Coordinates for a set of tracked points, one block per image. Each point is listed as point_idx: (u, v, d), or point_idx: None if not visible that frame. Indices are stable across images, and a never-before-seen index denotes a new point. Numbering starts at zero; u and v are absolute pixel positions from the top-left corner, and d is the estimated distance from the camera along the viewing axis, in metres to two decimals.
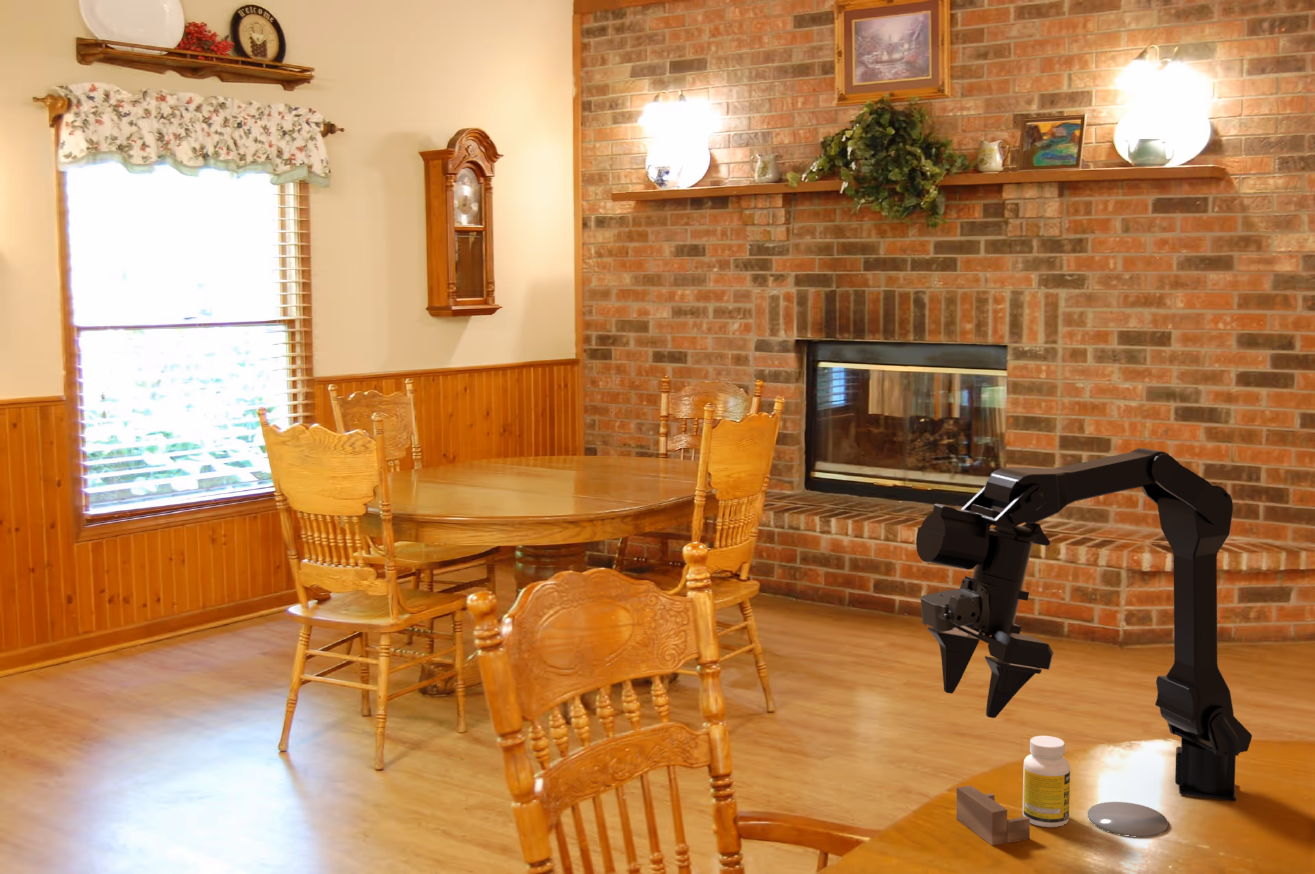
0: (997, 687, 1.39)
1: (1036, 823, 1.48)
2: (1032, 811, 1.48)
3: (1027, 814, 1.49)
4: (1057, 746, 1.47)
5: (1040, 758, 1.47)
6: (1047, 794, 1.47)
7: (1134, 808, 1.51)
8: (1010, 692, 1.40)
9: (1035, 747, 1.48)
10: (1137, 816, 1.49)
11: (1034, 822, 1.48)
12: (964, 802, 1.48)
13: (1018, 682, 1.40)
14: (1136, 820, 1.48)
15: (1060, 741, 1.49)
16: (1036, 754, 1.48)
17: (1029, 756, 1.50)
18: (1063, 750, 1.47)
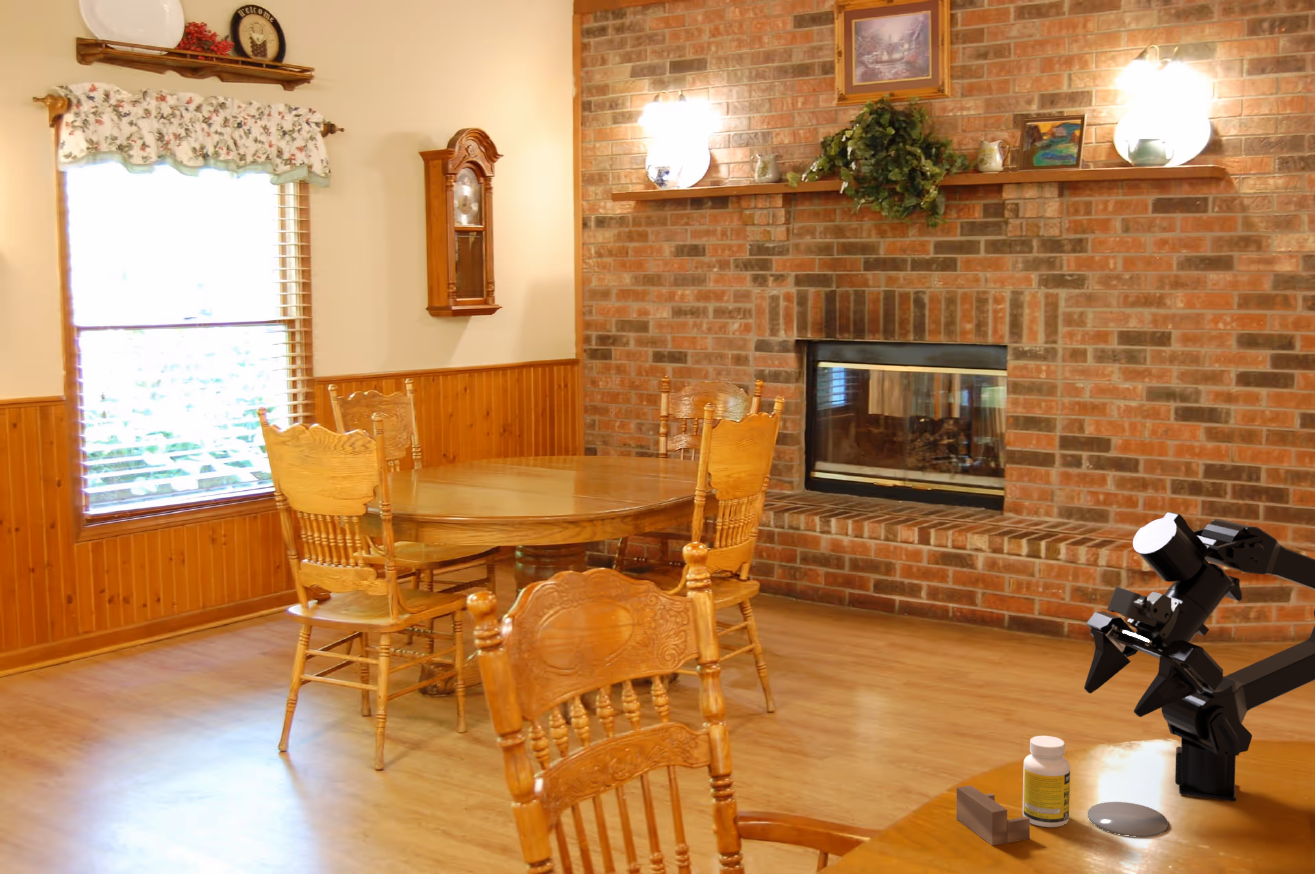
0: (1158, 688, 1.46)
1: (1036, 823, 1.48)
2: (1032, 811, 1.48)
3: (1027, 814, 1.49)
4: (1057, 745, 1.47)
5: (1040, 758, 1.47)
6: (1047, 794, 1.47)
7: (1134, 808, 1.51)
8: (1165, 700, 1.46)
9: (1035, 747, 1.48)
10: (1137, 816, 1.49)
11: (1034, 822, 1.48)
12: (964, 802, 1.48)
13: (1176, 694, 1.46)
14: (1136, 820, 1.48)
15: (1060, 741, 1.49)
16: (1036, 754, 1.48)
17: (1029, 756, 1.50)
18: (1063, 750, 1.47)
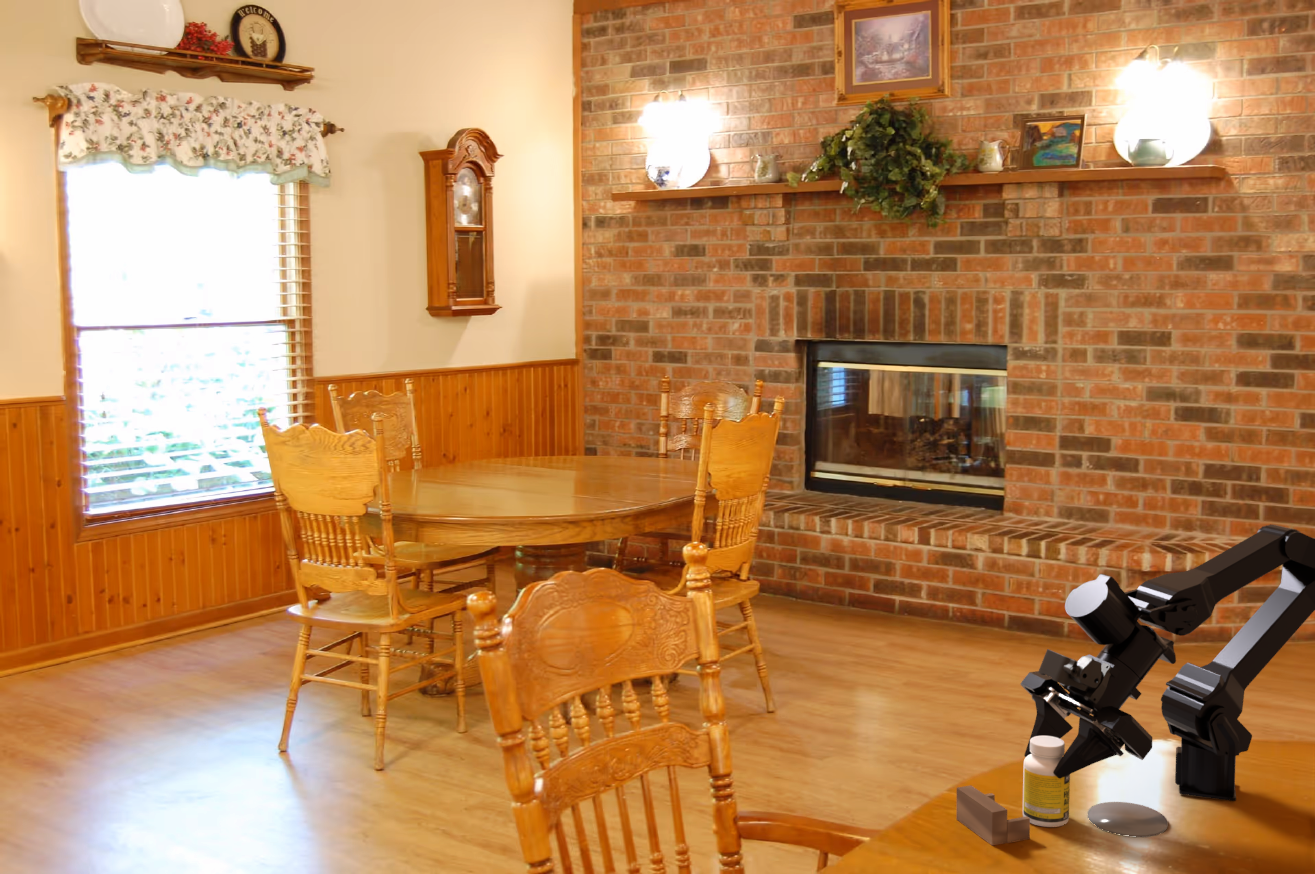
0: (1078, 750, 1.45)
1: (1036, 823, 1.48)
2: (1032, 811, 1.48)
3: (1027, 814, 1.49)
4: (1057, 745, 1.47)
5: (1040, 757, 1.47)
6: (1047, 794, 1.47)
7: (1134, 808, 1.51)
8: (1084, 761, 1.46)
9: (1035, 746, 1.48)
10: (1137, 816, 1.49)
11: (1034, 822, 1.48)
12: (964, 802, 1.48)
13: (1096, 756, 1.46)
14: (1136, 820, 1.48)
15: (1060, 741, 1.49)
16: (1036, 754, 1.48)
17: (1029, 756, 1.50)
18: (1063, 750, 1.47)
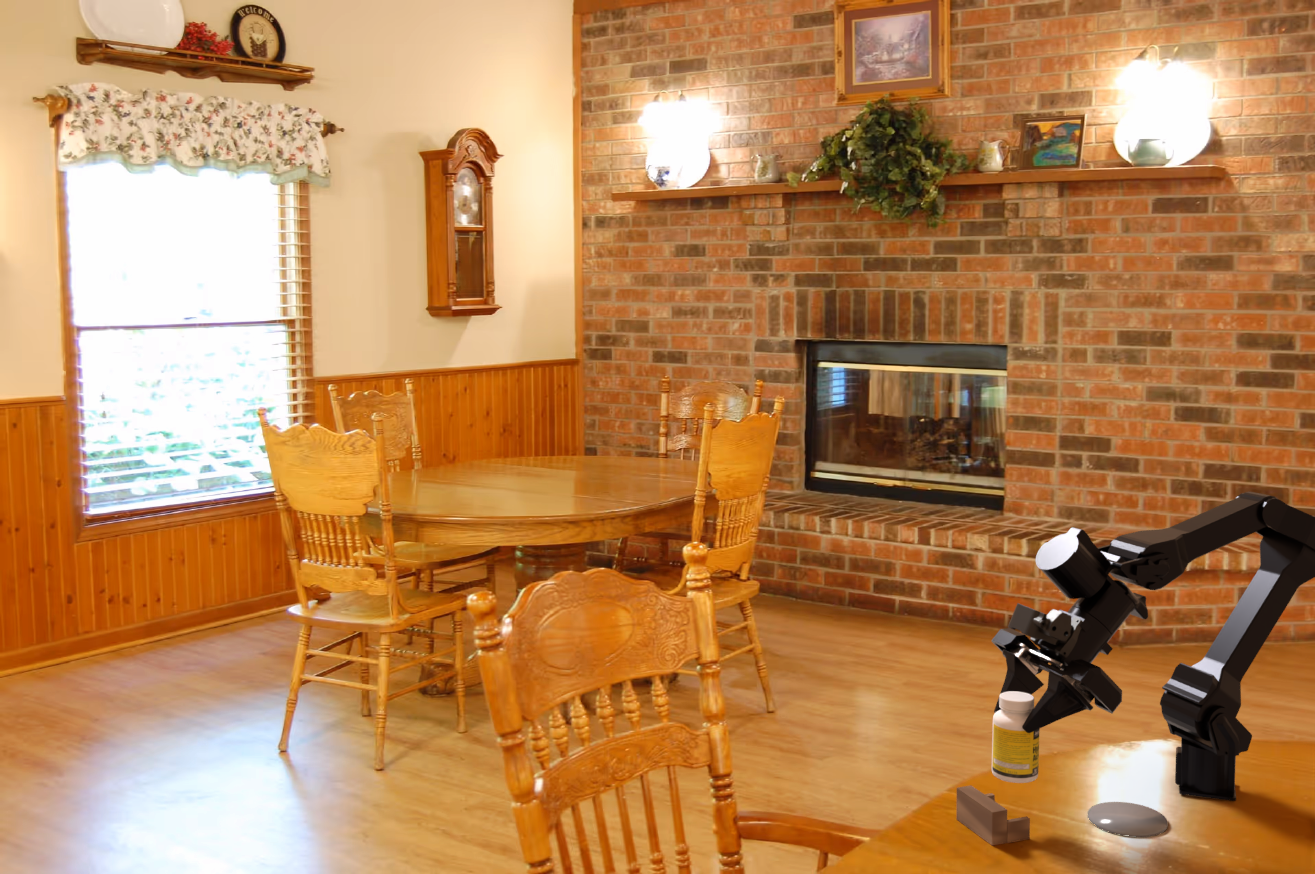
0: (1047, 704, 1.43)
1: (1005, 779, 1.46)
2: (1001, 766, 1.46)
3: (996, 770, 1.47)
4: (1026, 700, 1.45)
5: (1009, 712, 1.45)
6: (1015, 749, 1.45)
7: (1134, 808, 1.51)
8: (1054, 716, 1.44)
9: (1004, 701, 1.46)
10: (1137, 816, 1.49)
11: (1003, 777, 1.46)
12: (964, 802, 1.48)
13: (1065, 710, 1.44)
14: (1136, 820, 1.48)
15: (1030, 696, 1.46)
16: (1005, 709, 1.46)
17: (998, 711, 1.48)
18: (1032, 704, 1.45)
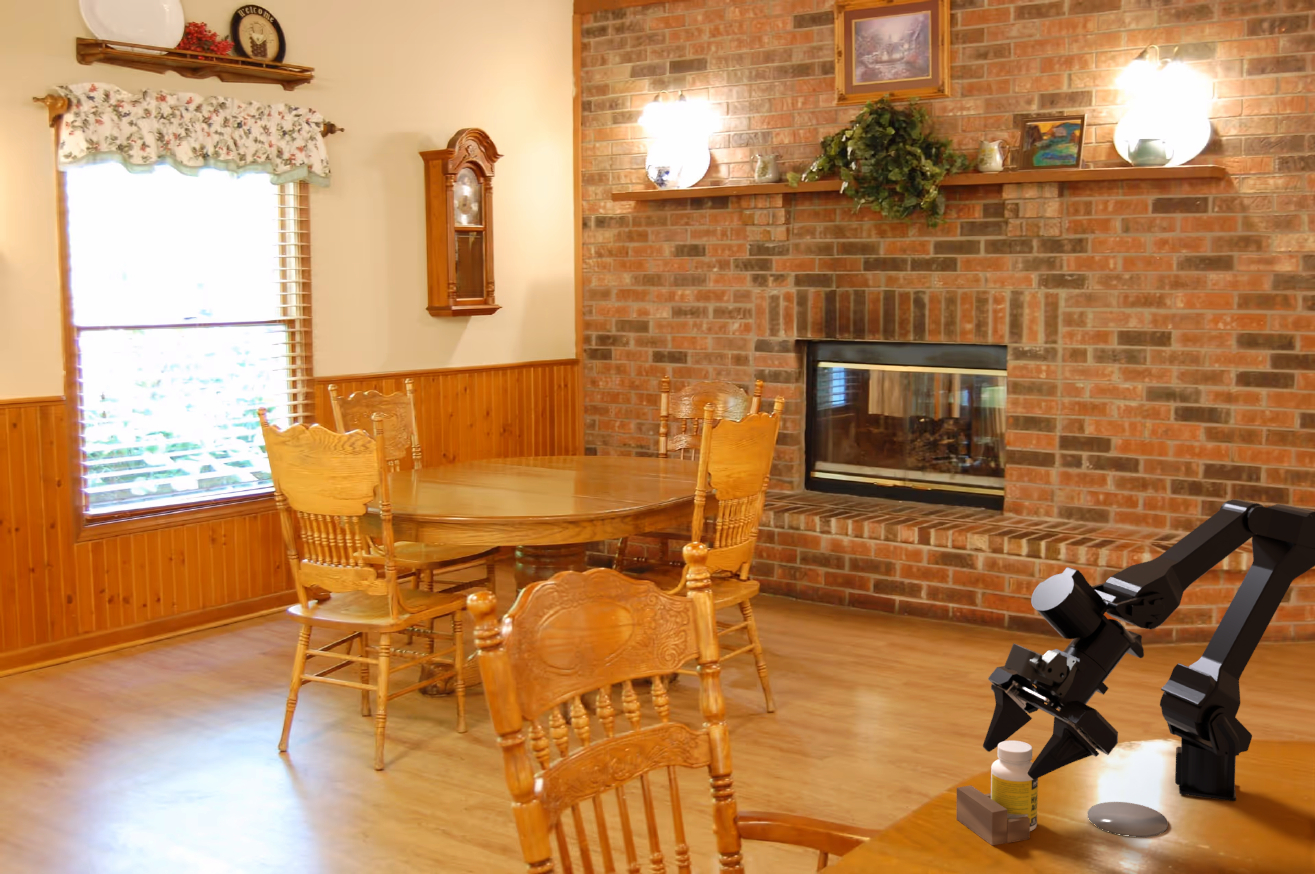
0: (1052, 750, 1.42)
1: None
2: None
3: None
4: (1024, 750, 1.46)
5: (1008, 763, 1.46)
6: (1014, 800, 1.45)
7: (1134, 808, 1.51)
8: (1059, 762, 1.42)
9: (1002, 752, 1.46)
10: (1137, 816, 1.49)
11: None
12: (964, 802, 1.48)
13: (1071, 756, 1.42)
14: (1136, 820, 1.48)
15: (1028, 746, 1.47)
16: (1003, 759, 1.46)
17: (997, 761, 1.48)
18: (1030, 755, 1.46)
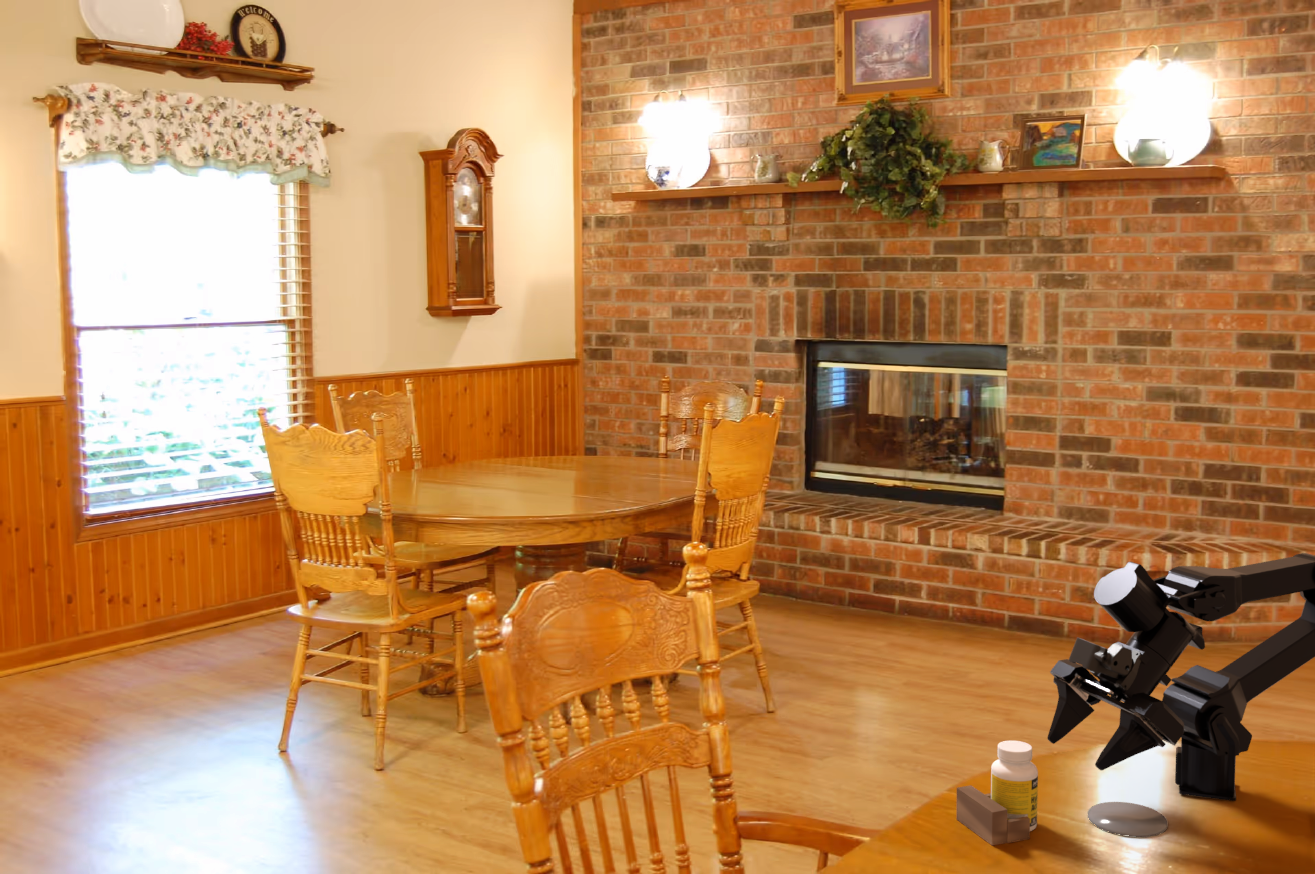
0: (1119, 741, 1.45)
1: None
2: None
3: None
4: (1024, 750, 1.46)
5: (1007, 762, 1.46)
6: (1014, 800, 1.45)
7: (1134, 808, 1.51)
8: (1126, 753, 1.45)
9: (1002, 751, 1.46)
10: (1137, 816, 1.49)
11: None
12: (964, 802, 1.48)
13: (1137, 747, 1.45)
14: (1136, 820, 1.48)
15: (1028, 746, 1.47)
16: (1003, 759, 1.46)
17: (997, 761, 1.48)
18: (1030, 755, 1.46)
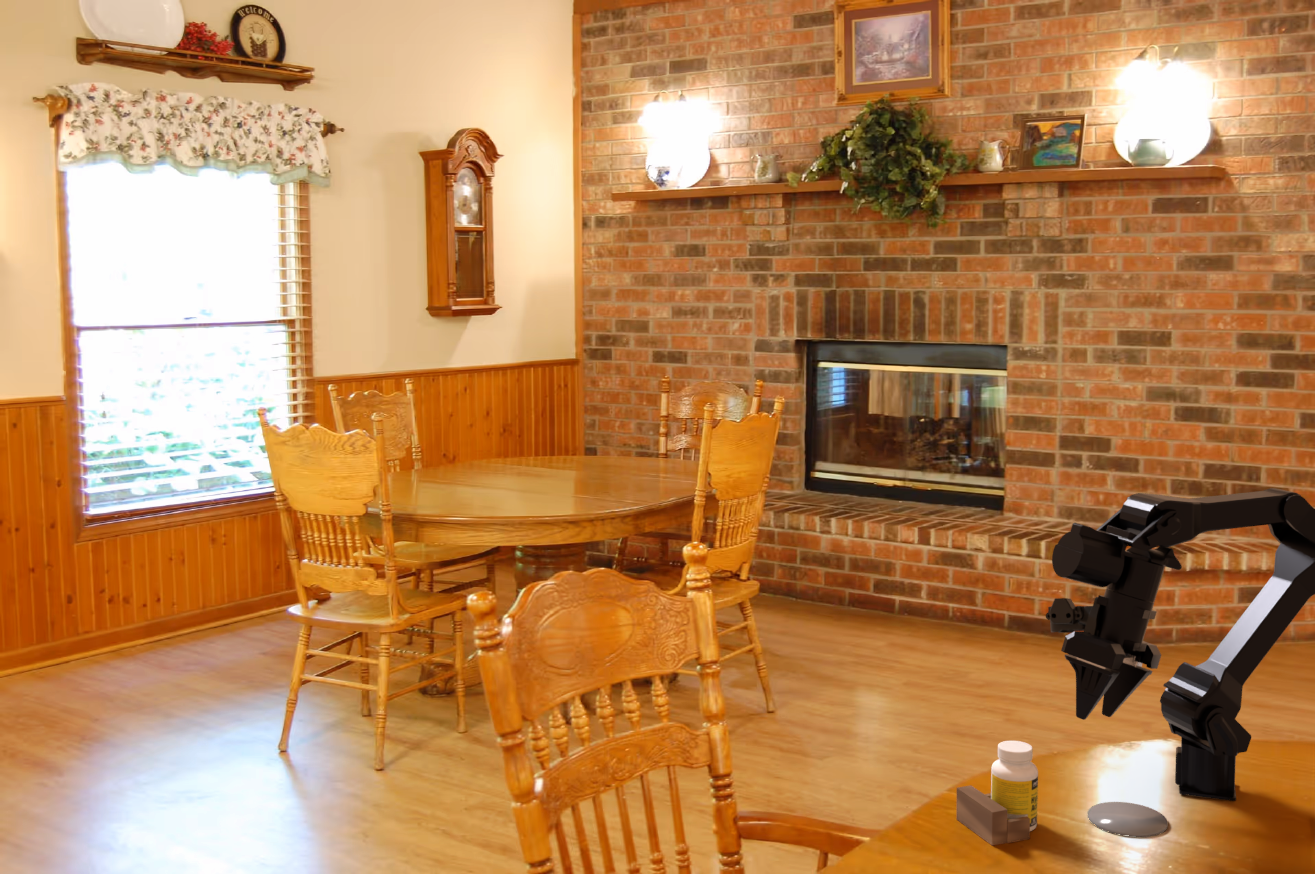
0: (1078, 685, 1.48)
1: None
2: None
3: None
4: (1024, 751, 1.46)
5: (1008, 763, 1.46)
6: (1014, 800, 1.45)
7: (1134, 808, 1.51)
8: (1092, 694, 1.47)
9: (1002, 752, 1.46)
10: (1137, 816, 1.49)
11: None
12: (964, 802, 1.48)
13: (1098, 684, 1.46)
14: (1136, 820, 1.48)
15: (1028, 746, 1.47)
16: (1003, 759, 1.46)
17: (997, 761, 1.48)
18: (1031, 755, 1.46)
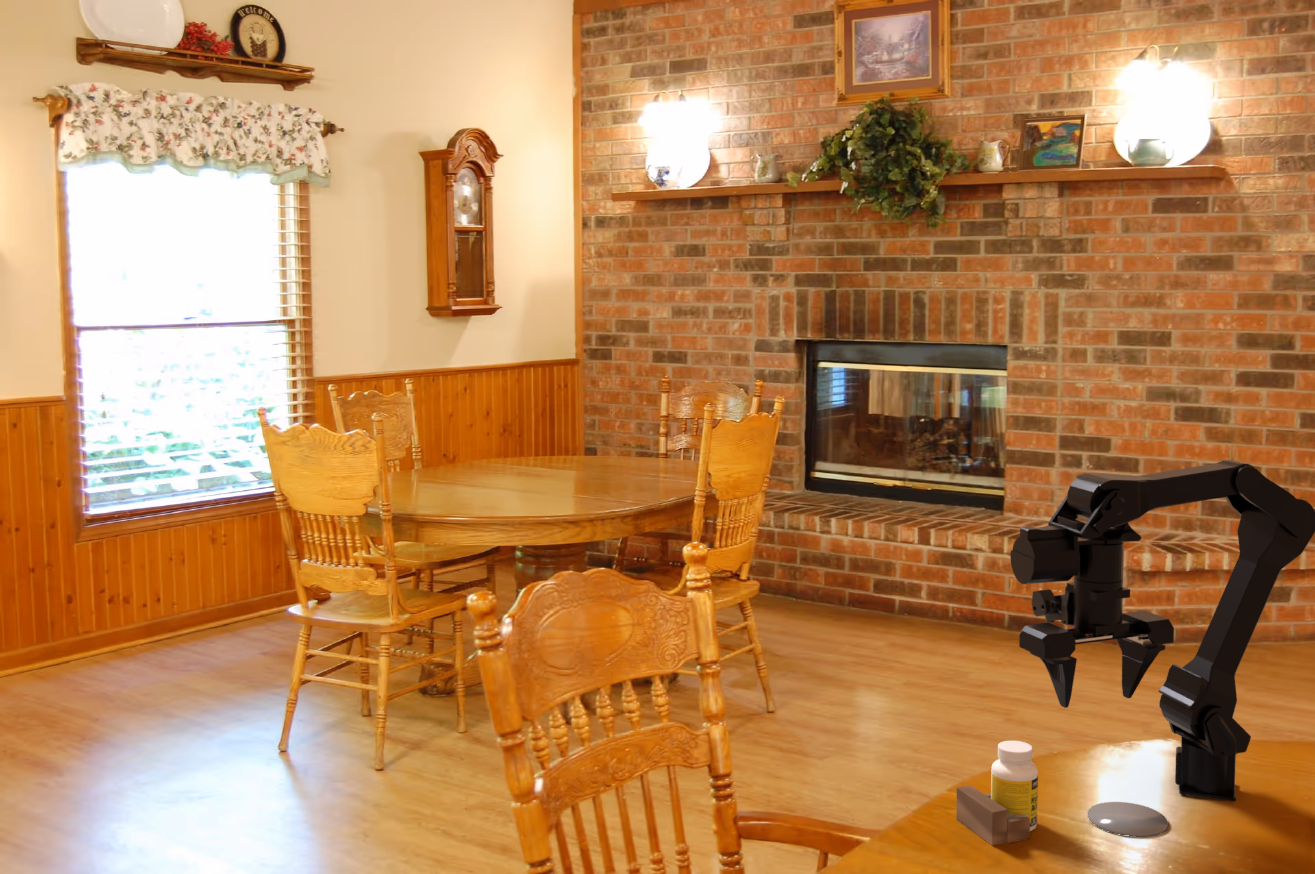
0: (1050, 675, 1.51)
1: None
2: None
3: None
4: (1024, 751, 1.46)
5: (1008, 763, 1.46)
6: (1014, 800, 1.45)
7: (1134, 808, 1.51)
8: (1061, 683, 1.49)
9: (1002, 752, 1.46)
10: (1137, 816, 1.49)
11: None
12: (964, 802, 1.48)
13: (1061, 673, 1.49)
14: (1136, 820, 1.48)
15: (1028, 746, 1.47)
16: (1003, 759, 1.46)
17: (997, 761, 1.48)
18: (1031, 755, 1.46)
